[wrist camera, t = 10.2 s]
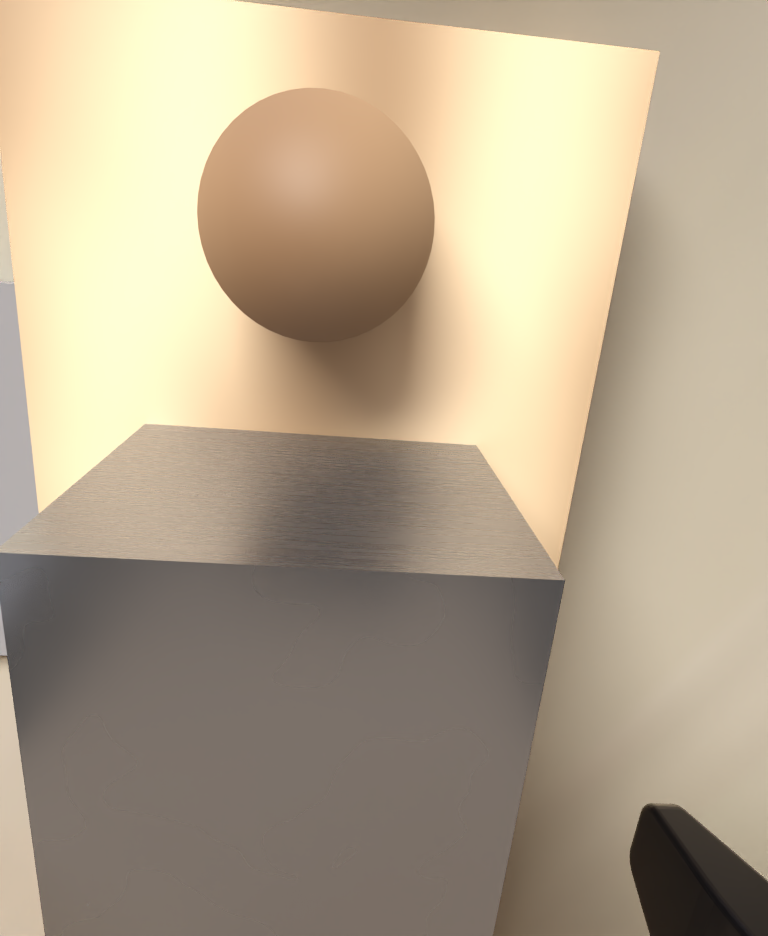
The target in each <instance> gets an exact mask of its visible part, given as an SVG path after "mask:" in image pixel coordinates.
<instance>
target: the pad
mask: <svg viewBox="0 0 768 936" xmlns="http://www.w3.org/2000/svg"><path fill="white" fill-rule="evenodd" d="M38 514H39V511H38V501H37V492H36V483H35V473H34V464H33V454H32V445H31V436H30V426H29V417H28V407H27V398H26V388H25V379H24V370H23V360H22V351H21V341H20V332H19V323H18V313H17V304H16V294H15V285H14V282H6V281H0V546H1V545H2V544H4V543H5V542H6V541H7V540H8V539H10V538H11V537H12V536H13V535H14V534H15V533H17V532H18V531H19V530H20V529H21V528H23V527H24V526H25V525H26V524H27V523H28V522H30V521H31V520H32V519H33V518H34V517H36V516H37V515H38ZM0 655H4V656H7V650H6V643H5V636H4V628H3V621H2V613H1V606H0Z"/></svg>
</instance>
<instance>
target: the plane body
mask: <svg viewBox="0 0 768 936" xmlns="http://www.w3.org/2000/svg"><path fill="white" fill-rule="evenodd" d="M659 54H660V51H653V50H645V49H636V48H628V47H619V46H611V45H603V44H594V43H586V42H577V41H569V40H561V39H552V38H544V37H535V36H527V35H519V34H510V33H502V32H493V31H485V30H477V29H468V28H460V27H451V26H443V25H435V24H426V23H418V22H409V21H401V20H393V19H384V18H376V17H367V16H359V15H351V14H342V13H334V12H325V11H317V10H309V9H300V8H292V7H283V6H275V5H267V4H258V3H250V2H241V1H233V0H0V153H1V163H2V172H3V181H4V191H5V200H6V210H7V219H8V228H9V238H10V247H11V257H12V266H13V275H14V285H15V294H16V304H17V313H18V323H19V332H20V341H21V351H22V360H23V370H24V379H25V388H26V398H27V407H28V417H29V426H30V436H31V445H32V454H33V464H34V473H35V483H36V492H37V501H38V511H39V513H40V512H41V511H43V510H44V509H45V508H46V507H47V506H48V505H50V504H51V503H52V502H53V501H54V500H56V499H57V498H58V497H59V496H60V495H61V494H63V493H64V492H65V491H66V490H67V489H69V488H70V487H71V486H72V485H73V484H74V483H76V482H77V481H78V480H79V479H80V478H82V477H83V476H84V475H85V474H86V473H87V472H89V471H90V470H91V469H92V468H93V467H95V466H96V465H97V464H98V463H99V462H100V461H102V460H103V459H104V458H105V457H106V456H108V455H109V454H110V453H111V452H112V451H113V450H115V449H116V448H117V447H118V446H119V445H120V444H122V443H123V442H124V441H125V440H126V439H128V438H129V437H130V436H131V435H132V434H133V433H135V432H136V431H137V430H138V429H139V428H141V427H142V426H143V425H144V424H159V425H174V426H190V427H205V428H220V429H235V430H250V431H266V432H281V433H296V434H311V435H327V436H342V437H357V438H372V439H388V440H403V441H418V442H433V443H449V444H464V445H477V447H478V449H479V450H480V452H481V453H482V455H483V456H484V458H485V459H486V461H487V462H488V464H489V465H490V467H491V468H492V470H493V471H494V473H495V474H496V476H497V477H498V479H499V481H500V482H501V484H502V485H503V487H504V488H505V490H506V491H507V493H508V494H509V496H510V497H511V499H512V500H513V502H514V503H515V505H516V506H517V508H518V509H519V511H520V512H521V514H522V516H523V517H524V519H525V520H526V522H527V523H528V525H529V526H530V528H531V529H532V531H533V532H534V534H535V535H536V537H537V538H538V540H539V541H540V543H541V544H542V546H543V548H544V549H545V551H546V552H547V554H548V555H549V557H550V558H551V560H552V561H553V563H554V564H555V566H556V567H557V569H558V566H559V561H560V555H561V550H562V545H563V540H564V535H565V530H566V525H567V520H568V515H569V510H570V505H571V500H572V495H573V490H574V484H575V479H576V474H577V469H578V464H579V459H580V454H581V449H582V444H583V439H584V434H585V429H586V424H587V419H588V414H589V408H590V403H591V398H592V393H593V388H594V383H595V378H596V373H597V368H598V363H599V358H600V353H601V348H602V343H603V337H604V332H605V327H606V322H607V317H608V312H609V307H610V302H611V297H612V292H613V287H614V282H615V277H616V272H617V266H618V261H619V256H620V251H621V246H622V241H623V236H624V231H625V226H626V221H627V216H628V211H629V206H630V201H631V195H632V190H633V185H634V180H635V175H636V170H637V165H638V160H639V155H640V150H641V145H642V140H643V135H644V130H645V125H646V119H647V114H648V109H649V104H650V99H651V94H652V89H653V84H654V79H655V74H656V69H657V64H658V59H659Z"/></svg>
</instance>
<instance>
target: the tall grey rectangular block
mask: <svg viewBox="0 0 768 936" xmlns="http://www.w3.org/2000/svg"><path fill="white" fill-rule="evenodd" d="M564 583H565V579H564V578H563V576H562V575H561V573H560V572H559V570H558V569H557V567H556V566H555V564H554V563H553V561H552V560H551V558H550V557H549V555H548V554H547V552H546V551H545V549H544V548H543V546H542V544H541V543H540V541H539V540H538V538H537V537H536V535H535V534H534V532H533V531H532V529H531V528H530V526H529V525H528V523H527V522H526V520H525V519H524V517H523V516H522V514H521V512H520V511H519V509H518V508H517V506H516V505H515V503H514V502H513V500H512V499H511V497H510V496H509V494H508V493H507V491H506V490H505V488H504V487H503V485H502V484H501V482H500V481H499V479H498V477H497V476H496V474H495V473H494V471H493V470H492V468H491V467H490V465H489V464H488V462H487V461H486V459H485V458H484V456H483V455H482V453H481V452H480V450H479V449H478V447H477V445H464V444H449V443H433V442H418V441H403V440H388V439H372V438H357V437H342V436H327V435H311V434H296V433H281V432H266V431H250V430H235V429H220V428H205V427H190V426H174V425H159V424H144V425H143V426H142V427H141V428H139V429H138V430H137V431H136V432H135V433H133V434H132V435H131V436H130V437H129V438H128V439H126V440H125V441H124V442H123V443H122V444H120V445H119V446H118V447H117V448H116V449H115V450H113V451H112V452H111V453H110V454H109V455H108V456H106V457H105V458H104V459H103V460H102V461H100V462H99V463H98V464H97V465H96V466H95V467H93V468H92V469H91V470H90V471H89V472H87V473H86V474H85V475H84V476H83V477H82V478H80V479H79V480H78V481H77V482H76V483H74V484H73V485H72V486H71V487H70V488H69V489H67V490H66V491H65V492H64V493H63V494H61V495H60V496H59V497H58V498H57V499H56V500H54V501H53V502H52V503H51V504H50V505H48V506H47V507H46V508H45V509H44V510H43V511H41V512H40V513H39V514H38V515H37V516H36V517H34V518H33V519H32V520H31V521H30V522H28V523H27V524H26V525H25V526H24V527H23V528H21V529H20V530H19V531H18V532H17V533H15V534H14V535H13V536H12V537H11V538H10V539H8V540H7V541H6V542H5V543H4V544H2V545H1V546H0V606H1V613H2V621H3V628H4V636H5V643H6V650H7V658H8V665H9V673H10V680H11V687H12V695H13V702H14V710H15V717H16V724H17V732H18V739H19V746H20V754H21V761H22V769H23V776H24V783H25V791H26V798H27V806H28V813H29V820H30V828H31V835H32V843H33V850H34V857H35V865H36V872H37V879H38V887H39V894H40V902H41V909H42V916H43V924H44V931H45V936H493V933H494V928H495V923H496V918H497V913H498V908H499V903H500V898H501V893H502V888H503V883H504V879H505V874H506V869H507V864H508V859H509V854H510V849H511V844H512V839H513V834H514V829H515V824H516V819H517V814H518V810H519V805H520V800H521V795H522V790H523V785H524V780H525V775H526V770H527V765H528V760H529V755H530V750H531V745H532V741H533V736H534V731H535V726H536V721H537V716H538V711H539V706H540V701H541V696H542V691H543V686H544V681H545V676H546V672H547V667H548V662H549V657H550V652H551V647H552V642H553V637H554V632H555V627H556V622H557V617H558V612H559V607H560V602H561V598H562V593H563V588H564Z"/></svg>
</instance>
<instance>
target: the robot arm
mask: <svg viewBox="0 0 768 936" xmlns="http://www.w3.org/2000/svg"><path fill="white" fill-rule="evenodd" d="M630 865H631V871H632V875H633V878H634V881H635V885H636V888H637V892H638V895H639V899H640V902H641V906H642V909H643V913H644V916H645V920H646V923H647V926H648V930H649V933H650V936H768V881H767V880H766V879H765V878H764V877H763V876H761V875H760V874H759V873H758V872H757V871H756V870H754V869H753V868H752V867H751V866H750V865H749V864H747V863H746V862H745V861H744V860H743V859H742V858H740V857H739V856H738V855H737V854H736V853H735V852H733V851H732V850H731V849H730V848H729V847H728V846H726V845H725V844H724V843H723V842H722V841H721V840H719V839H718V838H717V837H716V836H715V835H714V834H712V833H711V832H710V831H709V830H708V829H707V828H705V827H704V826H703V825H702V824H701V823H700V822H698V821H697V820H696V819H695V818H694V817H693V816H691V815H690V814H689V813H688V812H687V811H686V810H684V809H683V808H681V807H680V806H678V805H675V804H652V803H650V804H647V805H646V806H644V808H643V809H642V811H641V814H640V817H639V821H638V824H637V828H636V831H635V835H634V838H633V842H632V845H631V849H630Z"/></svg>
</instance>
